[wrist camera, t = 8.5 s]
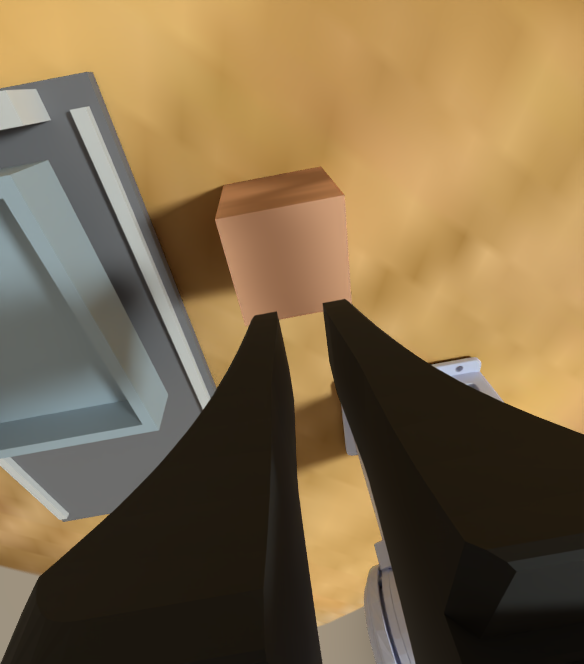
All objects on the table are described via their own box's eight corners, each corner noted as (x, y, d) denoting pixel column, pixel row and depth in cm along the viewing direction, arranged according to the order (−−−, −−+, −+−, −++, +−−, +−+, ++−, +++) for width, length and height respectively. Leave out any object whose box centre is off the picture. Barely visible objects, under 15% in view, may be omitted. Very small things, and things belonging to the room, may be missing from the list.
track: (92, 72, 13) (62, 70, 11) (253, 481, 30) (253, 512, 28) (-318, 150, 14) (-422, 163, 11) (66, 514, 30) (52, 547, 28)
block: (320, 166, 16) (344, 195, 12) (329, 257, 19) (351, 305, 15) (223, 184, 16) (215, 219, 12) (246, 272, 19) (245, 325, 15)
